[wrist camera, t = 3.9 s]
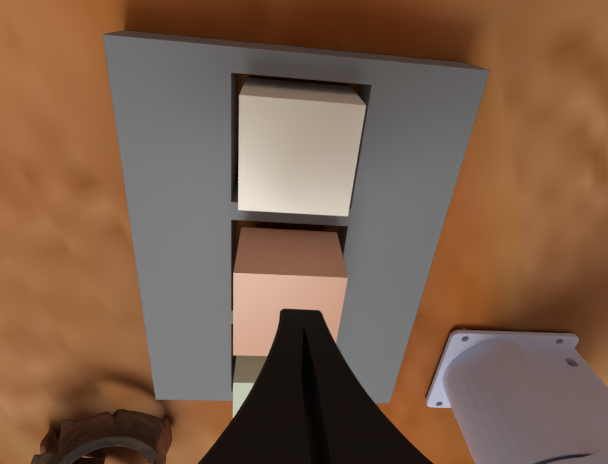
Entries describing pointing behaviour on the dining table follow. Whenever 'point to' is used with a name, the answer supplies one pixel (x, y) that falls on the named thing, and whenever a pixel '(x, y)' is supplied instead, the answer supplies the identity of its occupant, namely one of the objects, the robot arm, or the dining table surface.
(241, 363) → the sage key
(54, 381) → the dining table surface
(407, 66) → the grey rectangular frame
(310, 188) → the cream key
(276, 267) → the terracotta key
